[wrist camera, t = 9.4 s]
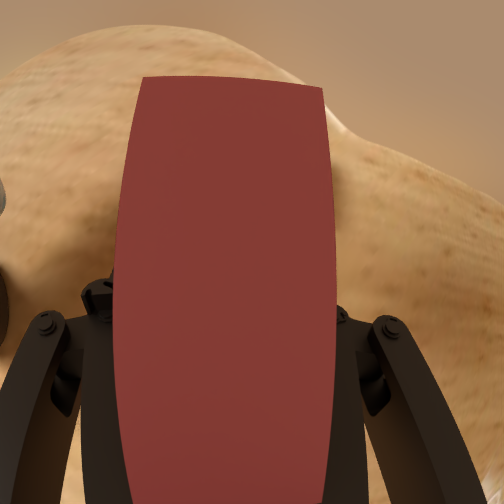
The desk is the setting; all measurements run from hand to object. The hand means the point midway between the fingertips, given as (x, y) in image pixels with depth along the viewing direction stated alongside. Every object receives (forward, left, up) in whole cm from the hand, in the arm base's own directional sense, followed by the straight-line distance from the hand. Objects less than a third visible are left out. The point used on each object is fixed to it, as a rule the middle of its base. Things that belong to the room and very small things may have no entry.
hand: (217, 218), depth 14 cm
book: (+2, -3, -5) cm, 6 cm away
